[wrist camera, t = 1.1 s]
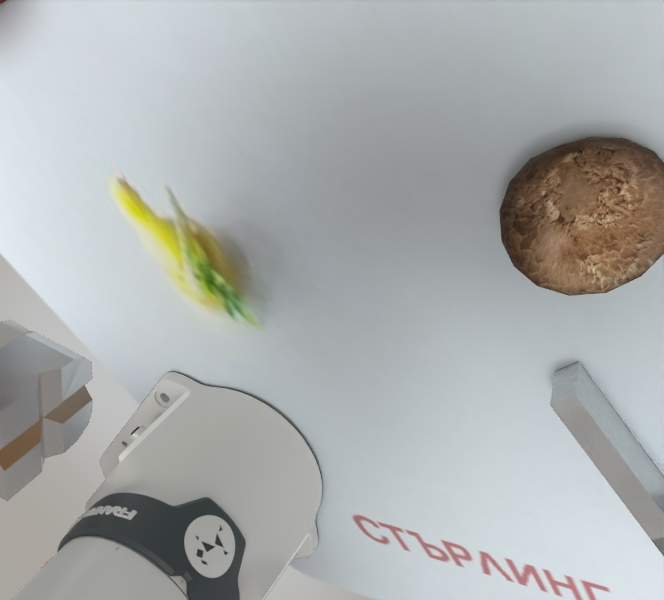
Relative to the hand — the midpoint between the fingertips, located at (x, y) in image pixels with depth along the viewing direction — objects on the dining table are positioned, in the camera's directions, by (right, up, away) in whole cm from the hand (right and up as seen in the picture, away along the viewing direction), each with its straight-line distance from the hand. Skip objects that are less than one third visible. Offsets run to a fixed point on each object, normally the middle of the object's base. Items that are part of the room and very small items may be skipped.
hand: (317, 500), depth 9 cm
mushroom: (+13, +8, +24) cm, 28 cm away
